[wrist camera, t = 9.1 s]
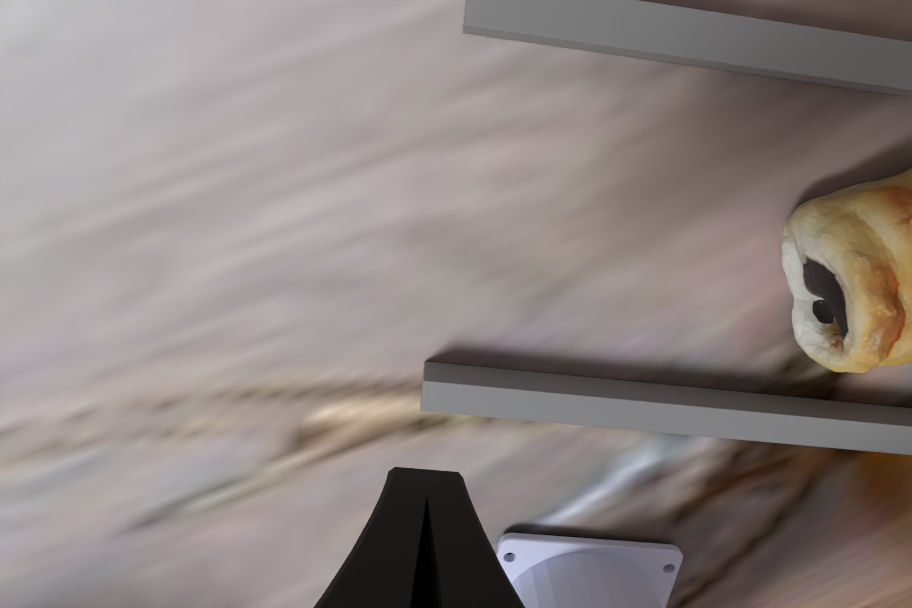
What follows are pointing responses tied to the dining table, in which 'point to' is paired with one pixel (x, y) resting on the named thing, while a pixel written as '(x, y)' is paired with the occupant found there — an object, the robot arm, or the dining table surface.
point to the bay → (709, 46)
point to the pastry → (853, 275)
